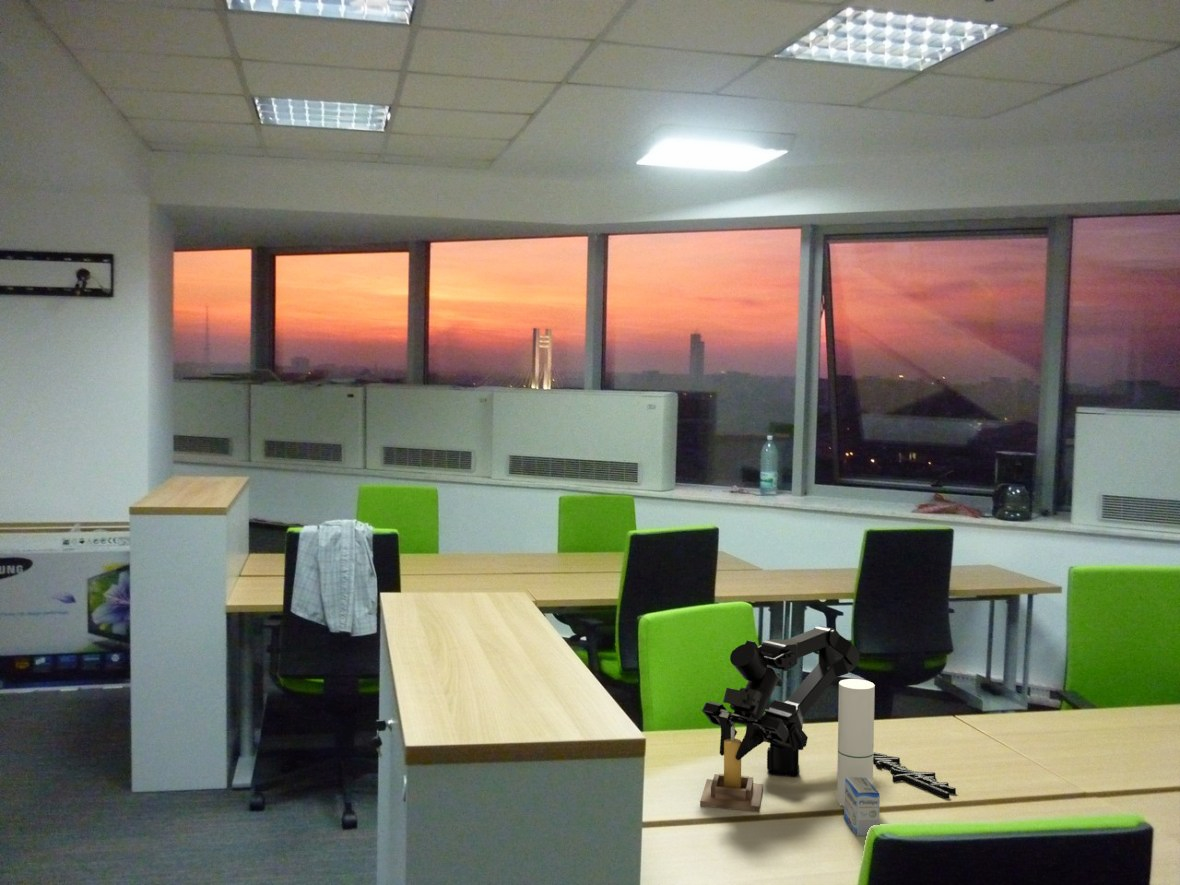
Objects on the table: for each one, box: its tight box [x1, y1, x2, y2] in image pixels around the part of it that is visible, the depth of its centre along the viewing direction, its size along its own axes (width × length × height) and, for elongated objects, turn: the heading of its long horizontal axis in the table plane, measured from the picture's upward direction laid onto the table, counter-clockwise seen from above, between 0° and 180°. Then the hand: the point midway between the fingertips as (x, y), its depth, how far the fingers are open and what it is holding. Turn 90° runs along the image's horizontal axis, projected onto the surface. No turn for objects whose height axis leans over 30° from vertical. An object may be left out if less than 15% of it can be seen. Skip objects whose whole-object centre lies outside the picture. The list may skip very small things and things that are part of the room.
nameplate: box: [873, 751, 957, 800], centre depth 230 cm, size 28×2×10 cm
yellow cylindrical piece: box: [723, 726, 742, 788], centre depth 217 cm, size 4×4×12 cm
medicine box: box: [843, 777, 881, 837], centre depth 203 cm, size 8×4×9 cm, turn 5°
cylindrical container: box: [836, 678, 876, 807], centre depth 214 cm, size 7×7×25 cm
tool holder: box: [699, 773, 764, 812], centre depth 218 cm, size 12×12×3 cm
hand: (728, 756), depth 216 cm, fingers closed on yellow cylindrical piece, 4 cm apart
